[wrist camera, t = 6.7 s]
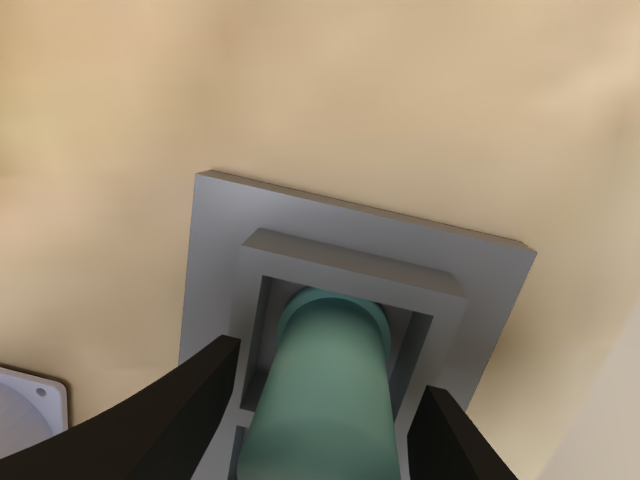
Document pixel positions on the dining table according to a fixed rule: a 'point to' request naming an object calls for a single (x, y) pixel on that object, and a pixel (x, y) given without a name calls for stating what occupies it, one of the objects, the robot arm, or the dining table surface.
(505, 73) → the dining table surface
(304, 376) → the pin
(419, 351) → the housing
